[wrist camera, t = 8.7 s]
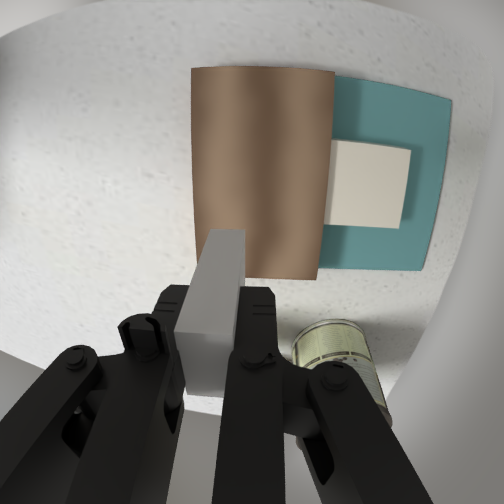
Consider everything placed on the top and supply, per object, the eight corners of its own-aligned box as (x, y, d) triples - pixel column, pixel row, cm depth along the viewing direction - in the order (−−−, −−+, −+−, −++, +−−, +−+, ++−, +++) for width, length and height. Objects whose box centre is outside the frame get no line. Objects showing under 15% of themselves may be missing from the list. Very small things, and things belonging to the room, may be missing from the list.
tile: (319, 216, 30) (322, 224, 29) (325, 137, 27) (330, 139, 25) (391, 221, 30) (398, 228, 28) (402, 146, 27) (411, 150, 25)
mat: (316, 266, 33) (317, 267, 33) (333, 76, 24) (333, 75, 24) (419, 269, 33) (420, 270, 33) (449, 100, 24) (451, 100, 24)
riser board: (203, 261, 34) (197, 275, 31) (198, 71, 25) (191, 68, 22) (312, 265, 33) (316, 280, 31) (328, 75, 24) (334, 71, 22)
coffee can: (377, 348, 39) (404, 431, 26) (316, 381, 42) (325, 463, 30) (343, 304, 36) (370, 397, 23) (275, 343, 39) (275, 436, 26)
